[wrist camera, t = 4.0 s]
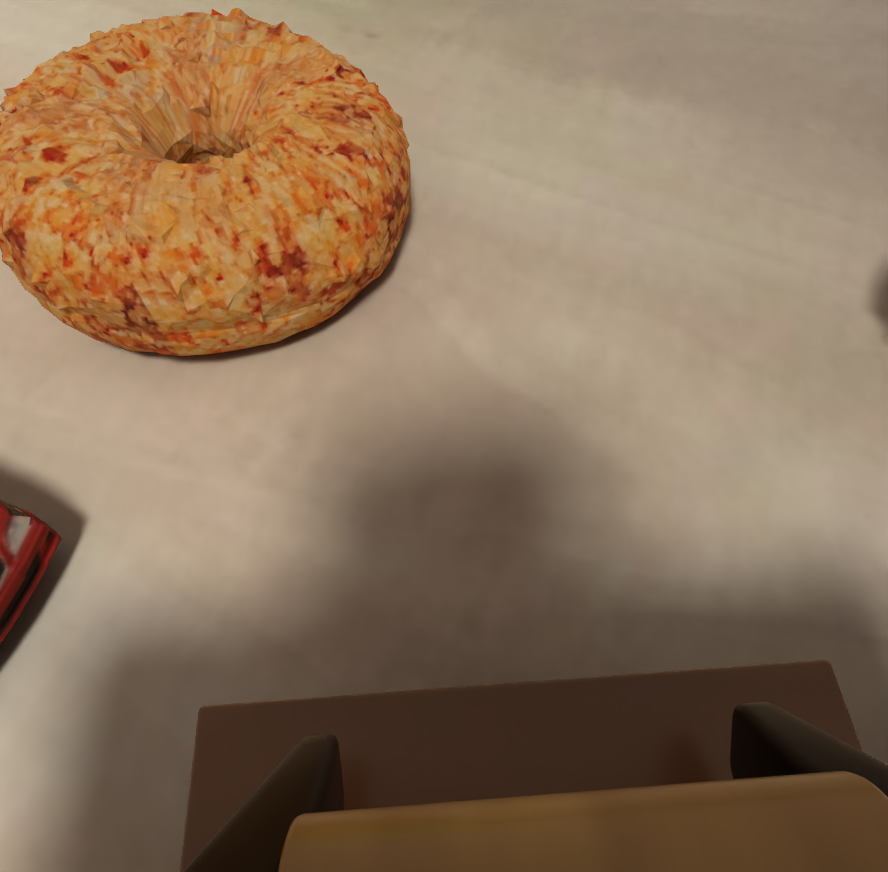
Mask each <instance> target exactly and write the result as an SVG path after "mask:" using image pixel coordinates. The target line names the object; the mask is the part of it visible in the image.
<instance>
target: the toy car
mask: <svg viewBox="0 0 888 872" xmlns="http://www.w3.org/2000/svg"><path fill="white" fill-rule="evenodd" d="M60 540H61V537H60V536H59V534H58V533H57V532H56V531H54V530H53V529H52V528H51V527H49V526H48V525H47V524H45V523H44V522H43V521H41V520H40V519H39V518H37V517H36V516H35V515H33V514H32V513H30V512H28V511H25V510H23V509H20V508H18V507H15V506H13V505H10V504H8V503H6V502H3V501H1V500H0V644H1V642H2V641H3V639H4V638H5V637H6V635H7V634H8V633H9V631H10V630H11V628H12V627H13V625H14V624H15V622H16V620H17V619H18V617H19V615H20V614H21V612H22V610H23V609H24V607H25V605H26V603H27V602H28V600H29V598H30V597H31V595H32V593H33V592H34V590H35V588H36V587H37V585H38V583H39V582H40V580H41V578H42V576H43V574H44V572H45V570H46V568H47V566H48V564H49V562H50V560H51V558H52V556H53V554H54V552H55V550H56V548H57V546H58V544H59V542H60Z"/></svg>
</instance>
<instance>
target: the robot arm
mask: <svg viewBox="0 0 888 872" xmlns="http://www.w3.org/2000/svg"><path fill="white" fill-rule="evenodd" d="M730 766H731V771H732V775H733V779H745V778H757V777H770V776H782V775H795V774H808V773H820V772H833V771H846V772H851V773H854V774H857V775H859V776H861V777H863V778H865V779H867V780H868V781H870V782H871V783H873V784H874V785H875V786H876V787H878V788H879V789H880V790H881V791H882V792H883V793H884V794H885V795H886V796H887V797H888V766H887V765H886V764H884V763H882V762H880V761H878V760H876V759H874V758H873V757H871V756H869V755H867V754H865V753H863V752H861V751H860V750H858V749H856V748H854V747H852V746H850V745H848V744H847V743H845V742H843V741H841V740H839V739H837V738H835V737H834V736H832V735H830V734H828V733H826V732H824V731H822V730H821V729H819V728H817V727H815V726H813V725H811V724H809V723H807V722H806V721H804V720H802V719H800V718H798V717H796V716H794V715H793V714H791V713H789V712H787V711H785V710H783V709H781V708H780V707H778V706H776V705H774V704H772V703H769V702H755V703H742V704H738V705H737V706H736V707H735V708H734V711H733V716H732V732H731V749H730ZM342 810H344V788H343V779H342V769H341V760H340V751H339V743H338V739H337V738H336V736H335V735H333V734H328V735H314V736H306V737H304V738H302V739H301V740H300V741H299V742H298V743H297V744H296V745H295V746H294V748H293V749H292V750H291V751H290V752H289V753H288V754H287V755H286V756H285V758H284V759H283V760H282V761H281V762H280V763H279V764H278V765H277V767H276V768H275V769H274V770H273V771H272V772H271V773H270V774H269V776H268V777H267V778H266V779H265V780H264V781H263V782H262V783H261V785H260V786H259V787H258V788H257V789H256V790H255V791H254V792H253V793H252V795H251V796H250V797H249V798H248V799H247V800H246V801H245V802H244V804H243V805H242V806H241V807H240V808H239V809H238V810H237V811H236V813H235V814H234V815H233V816H232V817H231V818H230V819H229V820H228V821H227V823H226V824H225V825H224V826H223V827H222V828H221V829H220V830H219V832H218V833H217V834H216V835H215V836H214V837H213V838H212V839H211V841H210V842H209V843H208V844H207V845H206V846H205V847H204V848H203V850H202V851H201V852H200V853H199V854H198V855H197V856H196V857H195V858H194V860H193V861H192V862H191V863H190V864H189V865H188V866H187V867H186V869H185V870H184V871H183V872H278V870H279V864H280V859H281V854H282V850H283V846H284V843H285V840H286V837H287V834H288V831H289V828H290V826H291V824H292V822H293V820H294V819H295V818H296V817H298V816H299V815H301V814H305V813H317V812H330V811H342Z"/></svg>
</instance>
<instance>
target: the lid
mask: <svg viewBox="0 0 888 872" xmlns="http://www.w3.org/2000/svg"><path fill="white" fill-rule="evenodd" d="M755 702H769V703H772V704H774V705H776V706H778V707H780V708H781V709H783V710H785V711H787V712H789V713H791V714H793V715H794V716H796V717H798V718H800V719H802V720H804V721H806V722H807V723H809V724H811V725H813V726H815V727H817V728H819V729H821V730H822V731H824V732H826V733H828V734H830V735H832V736H834V737H835V738H837V739H839V740H841V741H843V742H845V743H847V744H848V745H850V746H852V747H854V748H856V749H858V750H860V751H861V752H862V749H861V746H860V744H859V741H858V738H857V735H856V733H855V730H854V727H853V724H852V722H851V719H850V716H849V714H848V711H847V708H846V705H845V703H844V700H843V697H842V694H841V692H840V689H839V686H838V683H837V681H836V678H835V675H834V672H833V670H832V667H831V664H830V663H829V661H825V660H814V661H800V662H787V663H774V664H760V665H747V666H733V667H720V668H707V669H693V670H680V671H666V672H653V673H640V674H626V675H613V676H599V677H586V678H573V679H559V680H546V681H532V682H519V683H506V684H492V685H479V686H465V687H452V688H439V689H425V690H412V691H398V692H385V693H372V694H358V695H345V696H331V697H318V698H304V699H291V700H278V701H264V702H251V703H237V704H224V705H211V706H204V707H202V708H200V710H199V712H198V720H197V729H196V737H195V745H194V754H193V762H192V771H191V779H190V788H189V796H188V805H187V813H186V822H185V830H184V839H183V847H182V856H181V864H180V872H183V871H184V870H185V869H186V867H187V866H188V865H189V864H190V863H191V862H192V861H193V860H194V858H195V857H196V856H197V855H198V854H199V853H200V852H201V851H202V850H203V848H204V847H205V846H206V845H207V844H208V843H209V842H210V841H211V839H212V838H213V837H214V836H215V835H216V834H217V833H218V832H219V830H220V829H221V828H222V827H223V826H224V825H225V824H226V823H227V821H228V820H229V819H230V818H231V817H232V816H233V815H234V814H235V813H236V811H237V810H238V809H239V808H240V807H241V806H242V805H243V804H244V802H245V801H246V800H247V799H248V798H249V797H250V796H251V795H252V793H253V792H254V791H255V790H256V789H257V788H258V787H259V786H260V785H261V783H262V782H263V781H264V780H265V779H266V778H267V777H268V776H269V774H270V773H271V772H272V771H273V770H274V769H275V768H276V767H277V765H278V764H279V763H280V762H281V761H282V760H283V759H284V758H285V756H286V755H287V754H288V753H289V752H290V751H291V750H292V749H293V748H294V746H295V745H296V744H297V743H298V742H299V741H300V740H301V739H302V738H304V737H306V736H314V735H328V734H333V735H335V736H336V738H337V739H338V743H339V751H340V760H341V769H342V779H343V788H344V810H342V811H330V812H317V813H305V814H301V815H299V816H298V817H296V818H295V819H294V820H293V822H292V824H291V826H290V828H289V831H288V834H287V837H286V840H285V843H284V846H283V850H282V854H281V859H280V864H279V870H278V872H888V797H887V796H886V795H885V794H884V793H883V792H882V791H881V790H880V789H879V788H878V787H876V786H875V785H874V784H873V783H871V782H870V781H868V780H867V779H865V778H863V777H861V776H859V775H857V774H854V773H851V772H846V771H833V772H820V773H808V774H795V775H782V776H770V777H757V778H745V779H733V775H732V771H731V766H730V749H731V732H732V716H733V711H734V708H735V707H736V706H737V705H738V704H742V703H755Z"/></svg>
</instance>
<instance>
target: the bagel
mask: <svg viewBox="0 0 888 872" xmlns="http://www.w3.org/2000/svg"><path fill="white" fill-rule="evenodd" d="M4 90H5V92H6V95H7V96H6V97H4V102H3V103H2V104H1V105H0V107H1V109H2V111H0V249H1V251H2V261H3V262H4V263H5V264H7V265H8V266H9V267H10V268H11V269H12V271H13V272H14V273H15V275H16V276H17V278H18V279H19V281H20V282H21V284H22V285H23V287H24V288H25V290H27V291H28V292H29V293H31V294H32V295H33V296H35V297H36V298H37V299H38V301H39V302H40V303H41V305H42V306H43V307H45V308H46V309H47V310H48V311H50V312H51V313H52V314H53V315H54V316H56V317H57V318H58V319H59V320H61V321H62V322H63V323H65V324H67V325H69V326H71V327H73V328H74V329H76V330H78V331H80V332H82V333H84V334H86V335H88V336H90V337H92V338H94V339H96V340H99V341H103V342H107V343H111V344H114V345H116V346H119V347H121V348H124V349H126V350H129V351H142V352H156V353H160V354H164V355H176V356H189V355H202V354H213V353H221V352H229V351H234V350H239V349H244V348H249V347H254V346H259V345H264V344H269V343H274V342H278V341H280V340H283V339H285V338H287V337H289V336H291V335H293V334H295V333H298V332H300V331H303V330H306V329H309V328H312V327H314V326H316V325H318V324H320V323H321V322H323V321H325V320H326V319H328V318H330V317H332V316H333V315H335V314H336V313H337V312H338V311H339V310H340V309H342V308H343V307H344V306H345V305H346V304H347V303H348V302H349V301H351V300H352V299H353V298H354V297H355V296H356V295H357V294H358V293H359V292H361V291H362V290H363V289H364V288H365V287H366V286H367V285H368V284H369V283H370V282H371V281H372V280H374V279H376V278H378V277H379V276H380V275H381V274H382V272H383V271H384V269H385V268H386V266H387V265H388V263H389V262H390V260H391V258H392V255H393V252H394V250H395V248H396V246H397V245H398V243H399V241H400V239H401V235H402V232H403V229H404V225H405V222H406V218H407V216H408V213H409V210H410V208H411V194H410V159H409V156H408V153H407V148H408V146H409V143H408V141H407V138H406V136H405V133H404V131H403V125H402V117H401V116H399V115H398V114H396V113H395V112H394V111H393V109H392V108H391V106H390V104H389V103H388V101H387V100H386V98H385V97H383V96H382V95H381V94H380V93H379V90H378V85H376V84H375V83H369V82H368V80H367V79H366V77H365V76H364V74H363V72H362V71H361V70H360V69H358V68H357V67H355V66H353V65H351V64H350V63H348V62H347V60H346V59H345V57H344V56H342V55H337V54H333V53H331V52H330V51H329V50H327V49H326V48H325V47H324V46H323V45H321V44H320V43H318V42H317V41H315V40H314V39H312V38H310V37H309V36H302V35H299V34H295V33H292V32H291V30H290V29H289V28H288V27H287V26H286V25H285V23H284V22H281V23H279V24H278V25H276V26H273V25H270V24H267V23H264V22H261V21H258V20H255V19H252V18H250V17H249V16H248V15H246V14H245V13H244V12H243V11H242V10H241V9H239V8H236V9H232V11H231V12H230V13H229V15H228V16H227V17H226V16H224V15H222V14H220V13H218V12H217V11H215V10H213V9H212V14H211V15H209V14H206V13H185V14H184V15H183V16H166V17H162V18H159V19H149V20H142V23H139V24H131V25H122V24H121V25H120V26H119V27H118V29H115V28H112V29H111V30H110V31H109V32H107V33H103V32H102V31H97V32H94V33H91V34H90V42H89V43H87V44H85V45H83V46H81V47H73V48H72V49H71V50H70V51H69V52H65V51H62V52H61V53H59V54H58V55H57V56H55V57H54V58H53V59H50V60H48V61H46V62H44V63H42V64H40V65H38V66H37V67H36V69H35V70H34V72H33V74H31V75H30V76H29V77H28V78H26V79H23V82H22V83H20V84H19V85H18V86H17V87H15V88H9V89H4Z"/></svg>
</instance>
